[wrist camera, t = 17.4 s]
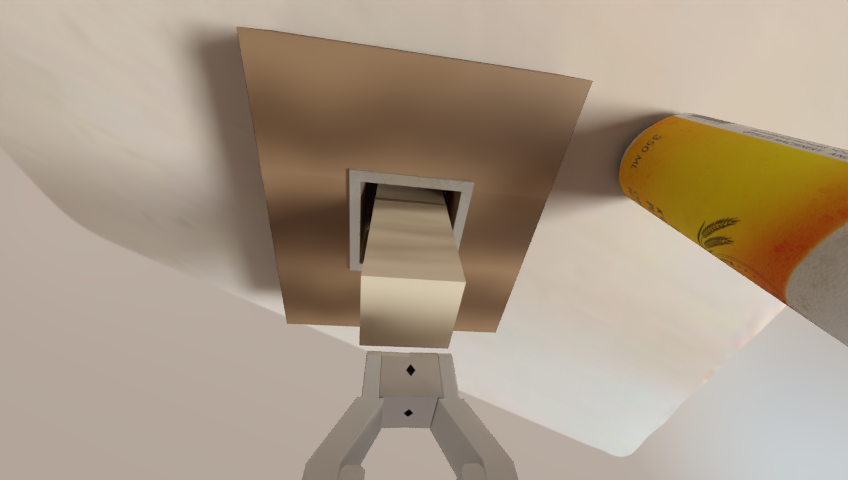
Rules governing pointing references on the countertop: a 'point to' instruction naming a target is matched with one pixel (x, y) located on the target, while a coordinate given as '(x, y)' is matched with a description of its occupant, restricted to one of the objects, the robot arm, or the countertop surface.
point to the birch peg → (410, 271)
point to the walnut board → (399, 161)
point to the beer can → (752, 206)
